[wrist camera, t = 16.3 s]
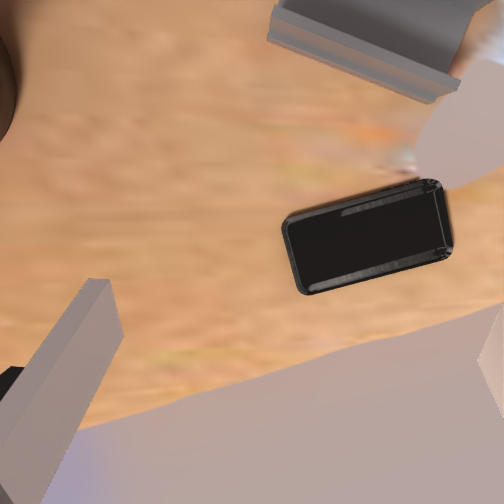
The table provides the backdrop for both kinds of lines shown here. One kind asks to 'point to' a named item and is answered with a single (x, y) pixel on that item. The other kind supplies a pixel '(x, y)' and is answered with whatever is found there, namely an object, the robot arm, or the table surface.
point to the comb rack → (379, 39)
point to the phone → (368, 237)
